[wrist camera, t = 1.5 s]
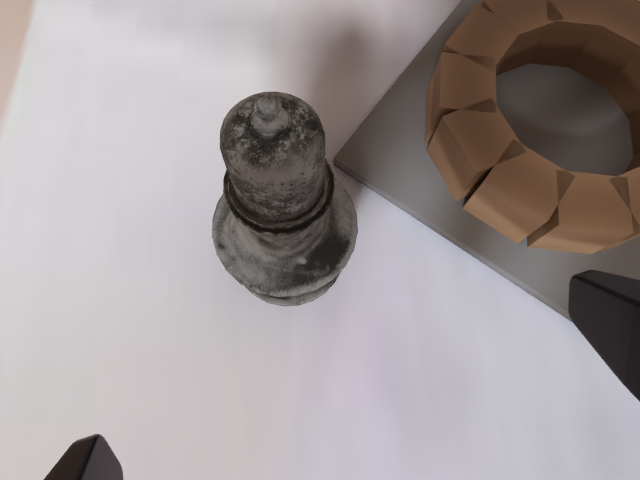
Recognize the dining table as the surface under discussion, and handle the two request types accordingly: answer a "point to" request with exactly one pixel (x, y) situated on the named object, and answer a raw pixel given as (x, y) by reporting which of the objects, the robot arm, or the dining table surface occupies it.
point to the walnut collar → (518, 139)
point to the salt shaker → (281, 202)
